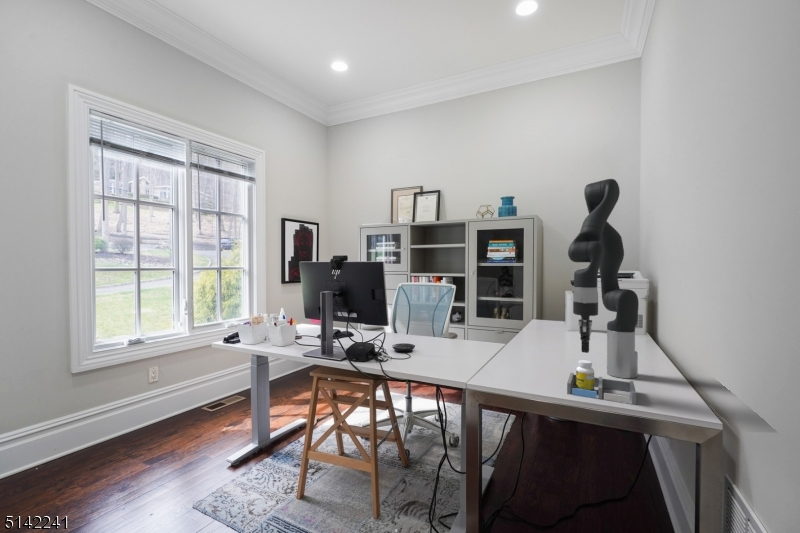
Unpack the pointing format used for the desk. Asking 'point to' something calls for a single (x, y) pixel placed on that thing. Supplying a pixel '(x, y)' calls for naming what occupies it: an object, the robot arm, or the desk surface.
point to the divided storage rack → (604, 384)
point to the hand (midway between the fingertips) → (585, 351)
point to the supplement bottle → (585, 375)
